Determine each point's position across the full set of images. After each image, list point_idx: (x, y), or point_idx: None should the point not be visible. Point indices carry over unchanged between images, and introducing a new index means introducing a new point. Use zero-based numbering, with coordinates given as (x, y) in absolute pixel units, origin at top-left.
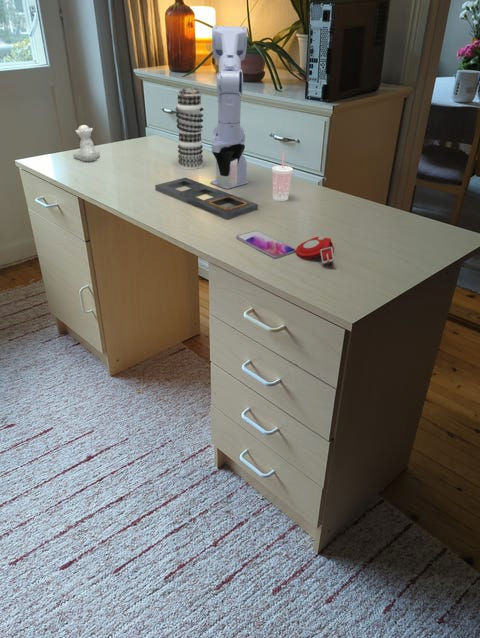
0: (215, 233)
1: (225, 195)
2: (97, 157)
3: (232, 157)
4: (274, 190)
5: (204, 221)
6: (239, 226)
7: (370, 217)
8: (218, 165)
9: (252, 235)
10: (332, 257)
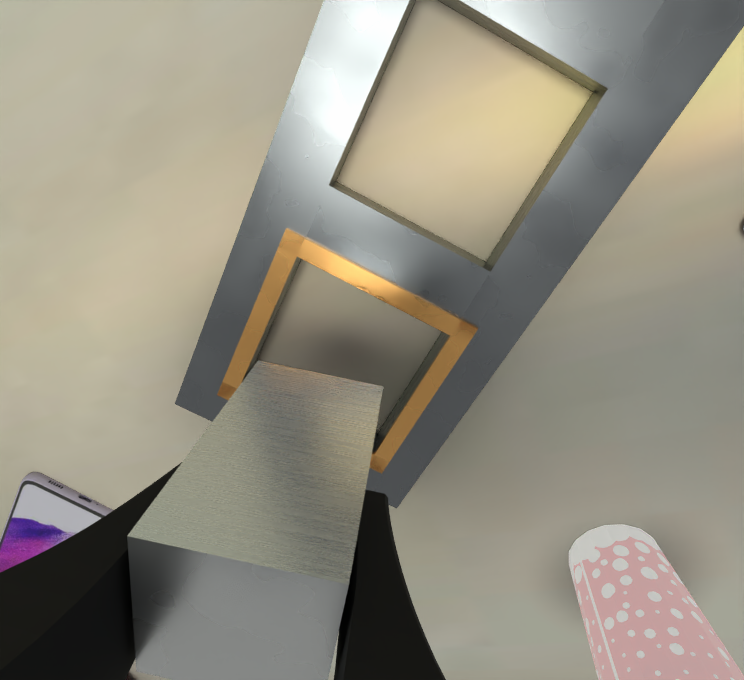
0: (14, 385)
1: (487, 303)
2: None
3: (340, 666)
4: (599, 577)
5: (102, 287)
6: (149, 457)
7: None
8: (112, 515)
9: (74, 528)
10: None
